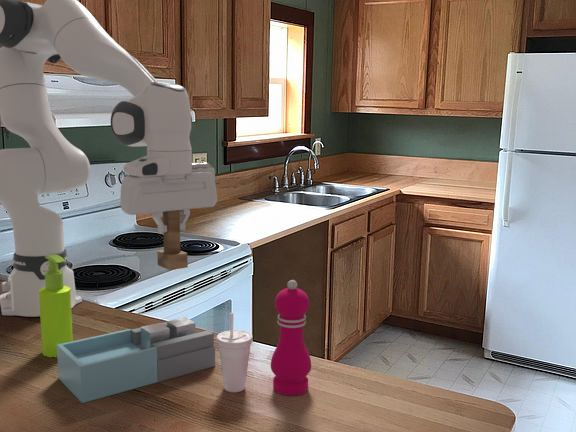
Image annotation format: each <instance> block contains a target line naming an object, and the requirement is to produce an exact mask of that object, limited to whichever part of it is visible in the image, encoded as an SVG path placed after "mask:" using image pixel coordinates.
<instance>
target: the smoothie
mask: <svg viewBox="0 0 576 432" xmlns="http://www.w3.org/2000/svg"><path fill="white" fill-rule="evenodd" d="M253 343H254V342H253V334H252V333H250V332H248V331H245V330H239V329H238V330H237V329H234V312H229V330H225V331H221V332H220V333H218V334H217V335H216V345H218V351H219V359H220V366H221V374H222V381H223V387H224V390H225V391H226V392H228V393H238V392H242V391H245V388H246V381H247V375H248V368H249V367H248V366H249V359H250V352H251V345H252V344H253Z"/></svg>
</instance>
